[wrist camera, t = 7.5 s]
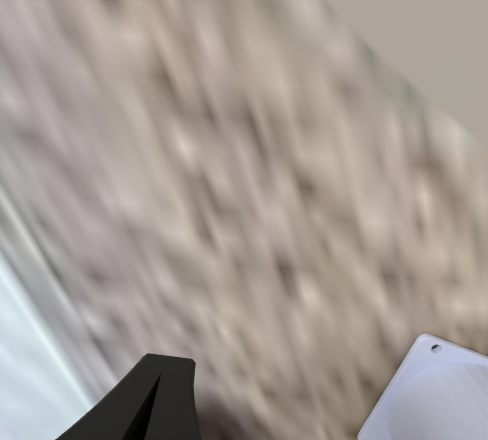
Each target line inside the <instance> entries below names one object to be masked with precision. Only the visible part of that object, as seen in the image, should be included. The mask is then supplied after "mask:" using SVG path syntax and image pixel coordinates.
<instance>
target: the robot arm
mask: <svg viewBox="0 0 488 440" xmlns="http://www.w3.org/2000/svg"><path fill="white" fill-rule="evenodd" d="M436 344H437V345H438V346H437V347H436V348H434V349H432V346H434V345H436ZM195 365H196V363H195V362H194V361H193V359H189V358H181V357H173V356H165V355H157V354H149V353H148V354H146V355H145V356H143V357H142V359H141V360H140V361H139V362H138V363H137V364H136V365H135V366H134V367H133V369H132V370H131V371H130V372H129V373H128V374H127V375H126V376H125V377H124V378H123V379H122V380H121V381H120V382H119V383H118V384H117V385H116V386H115V387H114V388H113V389H112V390H111V391H110V392H109V393H108V394H107V395H106V396H105V397H104V398H103V399H102V400H101V401H100V402H99V403H98V404H97V405H95V406H94V407H93V408H92V409H91V410H90V411H89V412H88V413H86V414H85V415H84V416H83V417H82V418H81V419H80V420H78V421H77V422H76V423H75V424H74V425H73V426H72V427H70V428H69V429H68V430H67V431H65V432H64V433H63V434H62V435H61V436H59V437H58V438H57V439H55V440H201V436H200V432H199V427H198V421H197V415H196V408H195V400H194V387H193V385H194V375H195ZM357 439H358V440H488V356H485V355H483V354H480V353H478V352H475V351H472V350H470V349H467V348H465V347H462V346H459V345H457V344H454V343H452V342H449V341H446V340H444V339H441V338H439V337H436V336H433V335H431V334H422V335H420V336H419V337H418V338H417V339H416V341H415V343H414V344H413V346H412V348H411V349H410V351H409V352H408V354H407V356H406V357H405V359H404V361H403V362H402V364H401V365H400V367H399V369H398V370H397V372H396V373H395V375H394V377H393V378H392V380H391V382H390V383H389V385H388V386H387V388H386V390H385V391H384V393H383V395H382V396H381V398H380V399H379V401H378V403H377V404H376V406H375V407H374V409H373V411H372V412H371V414H370V416H369V417H368V419H367V420H366V422H365V424H364V425H363V427H362V429H361V430H360V432H359V433H358V436H357Z"/></svg>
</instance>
